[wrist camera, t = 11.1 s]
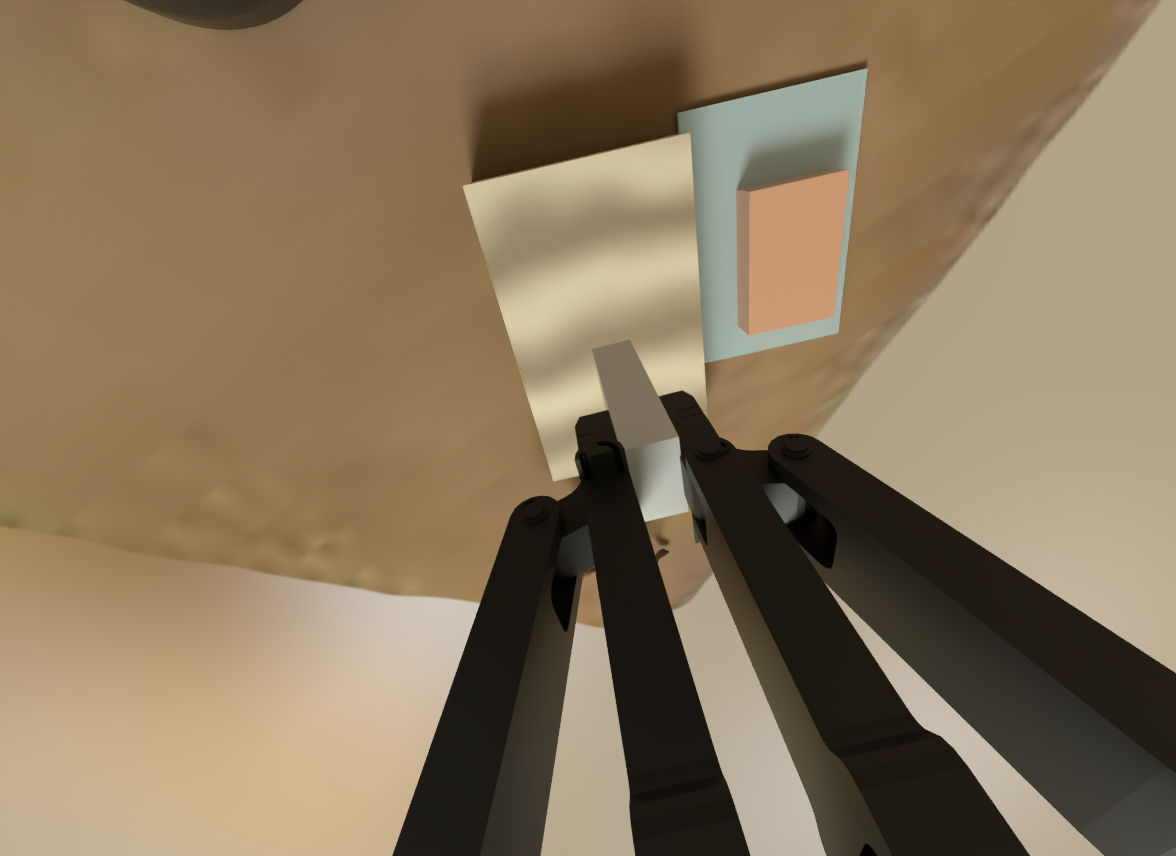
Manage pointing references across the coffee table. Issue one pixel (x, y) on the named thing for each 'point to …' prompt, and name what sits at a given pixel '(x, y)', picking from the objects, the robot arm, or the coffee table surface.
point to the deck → (595, 277)
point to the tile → (789, 249)
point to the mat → (756, 156)
